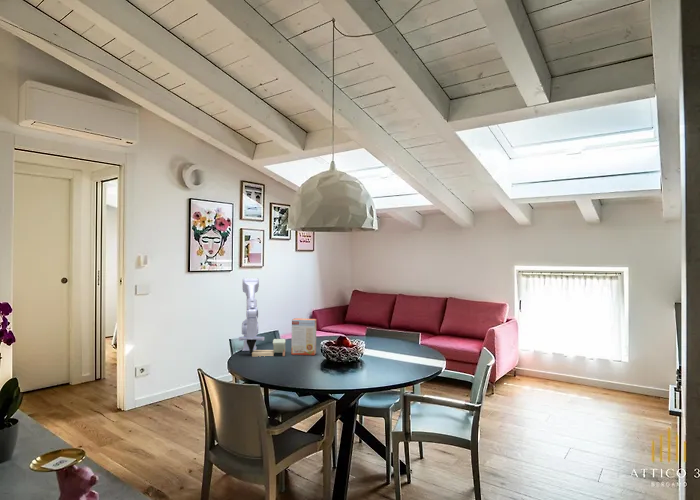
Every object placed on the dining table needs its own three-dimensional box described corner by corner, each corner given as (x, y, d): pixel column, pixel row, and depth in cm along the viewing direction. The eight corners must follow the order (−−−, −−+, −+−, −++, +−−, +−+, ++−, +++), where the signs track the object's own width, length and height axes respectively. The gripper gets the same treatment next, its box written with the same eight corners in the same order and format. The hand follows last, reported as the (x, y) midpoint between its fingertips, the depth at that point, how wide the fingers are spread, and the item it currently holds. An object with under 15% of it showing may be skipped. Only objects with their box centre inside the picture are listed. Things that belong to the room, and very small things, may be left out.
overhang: (273, 352, 262) (273, 338, 262) (285, 351, 263) (285, 338, 263) (272, 356, 250) (272, 342, 250) (284, 356, 251) (285, 342, 251)
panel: (253, 354, 257) (253, 350, 257) (274, 354, 259) (274, 349, 259) (251, 357, 249) (252, 352, 249) (273, 357, 251) (273, 352, 251)
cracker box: (316, 353, 261) (316, 318, 261) (314, 355, 255) (315, 319, 255) (293, 352, 262) (294, 317, 263) (290, 354, 256) (291, 319, 257)
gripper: (238, 330, 249) (237, 354, 248) (263, 330, 250) (263, 354, 250) (239, 328, 256) (239, 351, 256) (264, 328, 257) (264, 351, 257)
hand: (251, 352), depth 253 cm, fingers closed
